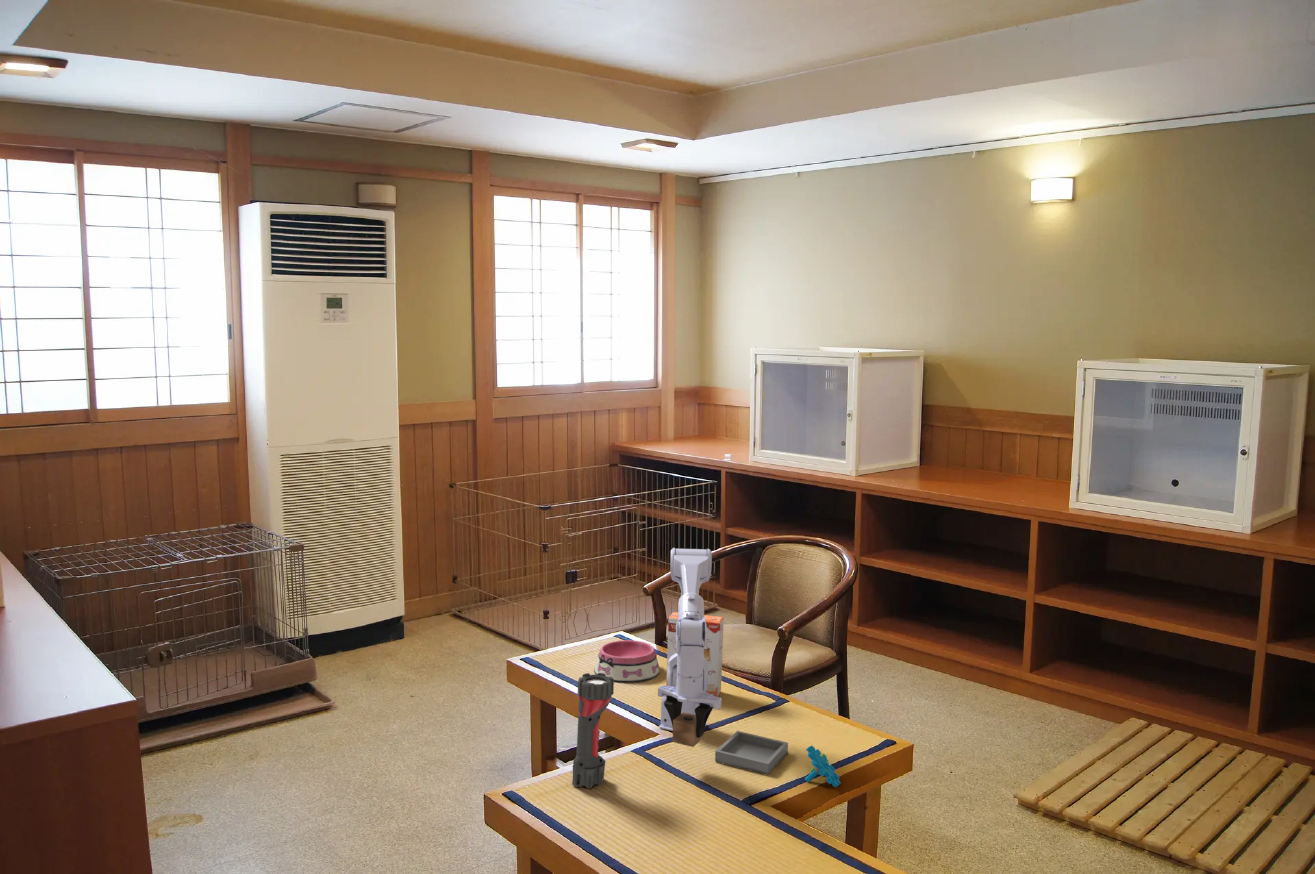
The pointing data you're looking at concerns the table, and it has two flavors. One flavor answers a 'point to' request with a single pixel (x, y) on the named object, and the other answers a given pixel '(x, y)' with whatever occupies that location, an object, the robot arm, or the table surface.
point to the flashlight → (590, 728)
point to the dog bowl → (628, 661)
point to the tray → (751, 752)
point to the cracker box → (711, 649)
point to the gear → (821, 767)
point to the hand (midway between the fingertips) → (688, 733)
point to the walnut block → (685, 730)
